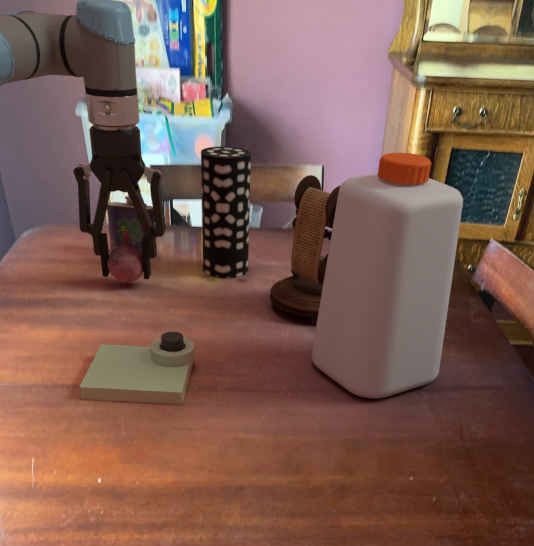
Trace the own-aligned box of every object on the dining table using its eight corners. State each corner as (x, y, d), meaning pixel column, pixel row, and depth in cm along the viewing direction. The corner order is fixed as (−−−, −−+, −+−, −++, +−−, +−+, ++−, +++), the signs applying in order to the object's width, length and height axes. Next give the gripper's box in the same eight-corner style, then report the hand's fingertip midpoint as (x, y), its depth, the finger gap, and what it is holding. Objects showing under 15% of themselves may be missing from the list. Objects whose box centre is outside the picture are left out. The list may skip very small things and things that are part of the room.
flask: (108, 252, 129) (103, 193, 122) (115, 247, 131) (110, 189, 125) (154, 258, 127) (151, 199, 121) (160, 253, 130) (157, 195, 123)
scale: (80, 399, 86) (77, 375, 84) (103, 354, 96) (100, 332, 94) (185, 405, 86) (185, 381, 84) (197, 359, 96) (196, 337, 94)
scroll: (251, 303, 113) (255, 176, 101) (314, 283, 121) (324, 163, 109) (313, 334, 104) (325, 200, 92) (376, 311, 112) (395, 184, 100)
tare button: (159, 352, 91) (159, 340, 90) (163, 342, 93) (162, 330, 92) (182, 353, 91) (181, 341, 90) (185, 343, 93) (184, 331, 92)
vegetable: (153, 285, 117) (150, 226, 111) (128, 295, 113) (123, 235, 107) (127, 276, 120) (123, 218, 114) (102, 286, 116) (96, 227, 110)
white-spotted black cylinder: (194, 267, 125) (191, 149, 113) (229, 258, 129) (230, 144, 117) (221, 281, 120) (220, 160, 108) (257, 271, 124) (261, 154, 112)
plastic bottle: (449, 382, 94) (500, 166, 77) (364, 408, 87) (398, 179, 70) (380, 338, 104) (411, 139, 87) (299, 359, 97) (316, 148, 81)
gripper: (42, 126, 98) (64, 280, 112) (174, 133, 98) (180, 286, 112) (57, 117, 104) (76, 264, 118) (181, 124, 104) (186, 270, 118)
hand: (127, 274), depth 115 cm, fingers closed on vegetable, 6 cm apart
